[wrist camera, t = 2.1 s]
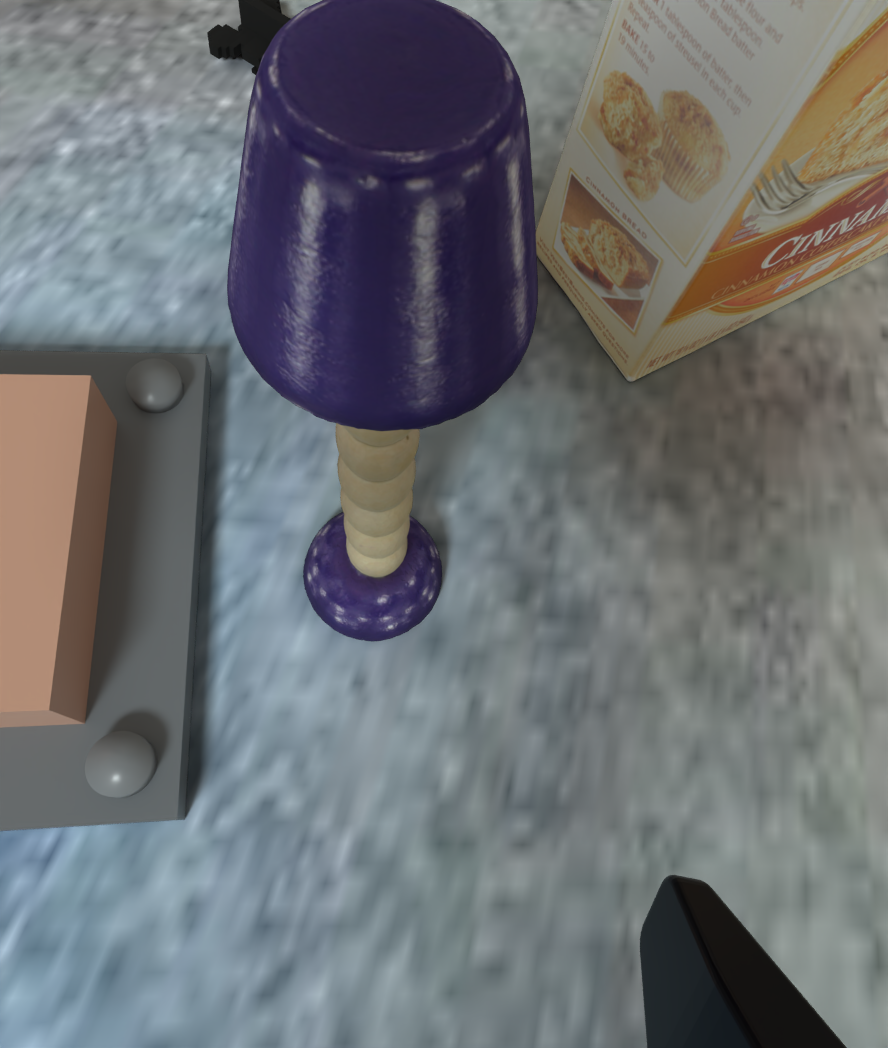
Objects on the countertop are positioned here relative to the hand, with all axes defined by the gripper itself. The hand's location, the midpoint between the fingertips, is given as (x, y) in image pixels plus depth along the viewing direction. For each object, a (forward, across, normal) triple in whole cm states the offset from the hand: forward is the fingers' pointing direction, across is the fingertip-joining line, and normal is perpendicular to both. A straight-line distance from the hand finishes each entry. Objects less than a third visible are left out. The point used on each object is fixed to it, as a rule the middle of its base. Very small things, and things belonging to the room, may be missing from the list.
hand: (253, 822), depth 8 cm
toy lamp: (+15, 0, +4) cm, 16 cm away
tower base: (+13, +12, +6) cm, 19 cm away
